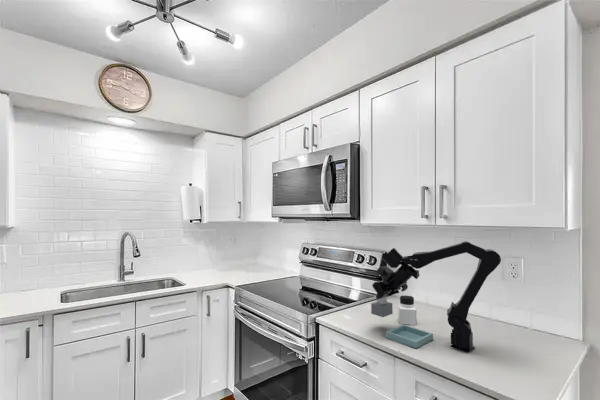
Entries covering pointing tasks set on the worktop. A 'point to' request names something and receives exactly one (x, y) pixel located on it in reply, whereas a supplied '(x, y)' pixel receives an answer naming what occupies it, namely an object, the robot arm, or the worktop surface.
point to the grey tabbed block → (381, 307)
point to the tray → (409, 336)
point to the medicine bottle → (407, 310)
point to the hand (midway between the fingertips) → (379, 297)
